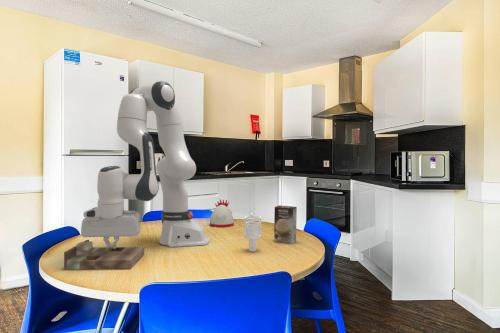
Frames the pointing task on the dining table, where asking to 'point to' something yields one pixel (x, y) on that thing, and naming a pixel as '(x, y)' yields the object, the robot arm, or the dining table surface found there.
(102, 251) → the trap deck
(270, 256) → the dining table surface
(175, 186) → the robot arm
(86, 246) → the cube
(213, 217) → the kitchen timer
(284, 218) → the coffee box
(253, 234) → the clear glass tall piece
